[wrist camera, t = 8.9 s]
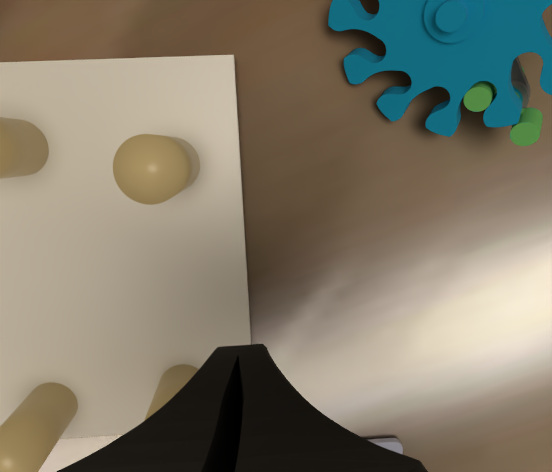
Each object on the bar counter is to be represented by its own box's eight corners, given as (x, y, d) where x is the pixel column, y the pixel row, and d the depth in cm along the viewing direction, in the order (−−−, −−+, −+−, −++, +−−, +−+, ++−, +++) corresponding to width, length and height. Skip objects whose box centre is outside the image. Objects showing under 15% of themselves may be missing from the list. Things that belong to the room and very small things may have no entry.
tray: (255, 412, 23) (256, 495, 17) (-129, 440, 22) (-253, 536, 16) (234, 59, 19) (227, 24, 13) (-232, 75, 18) (-439, 44, 13)
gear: (276, -31, 17) (571, -309, 10) (334, -60, 20) (580, -277, 13) (402, 189, 20) (683, 107, 13) (433, 131, 24) (666, 43, 17)
